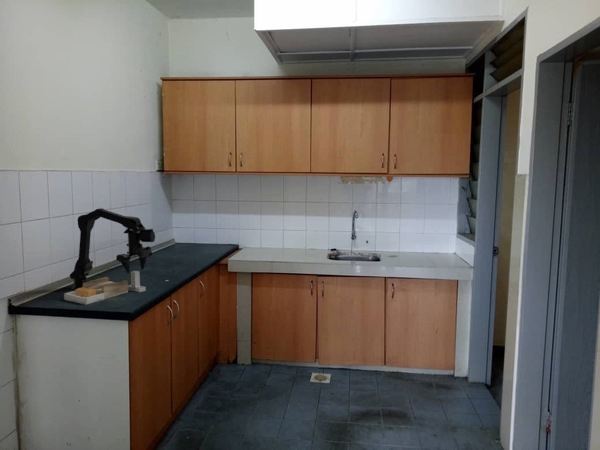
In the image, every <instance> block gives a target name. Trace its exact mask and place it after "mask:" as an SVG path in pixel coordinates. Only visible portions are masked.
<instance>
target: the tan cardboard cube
mask: <svg viewBox="0 0 600 450" xmlns="http://www.w3.org/2000/svg"><path fill="white" fill-rule="evenodd" d="M94 295H96V290H95V289H87V290H83V297H85V298H87V297H91V296H94Z"/></svg>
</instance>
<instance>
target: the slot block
mask: <svg viewBox="0 0 600 450" xmlns="http://www.w3.org/2000/svg"><path fill="white" fill-rule="evenodd" d="M128 282H129V281H128V280H125V279H124V280H122V281H118V282H116V281H110V279H109V277H107V276H105V277H101V278H97V279H93V280H87V282H84V283H83V287H84V288H89V289H95V290H96V295H98V294H101V293H104V299H103V300H107V299H110V298H113V297H117V296H120V295H123V294H127V293H129V290H128V285H129V283H128Z"/></svg>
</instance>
